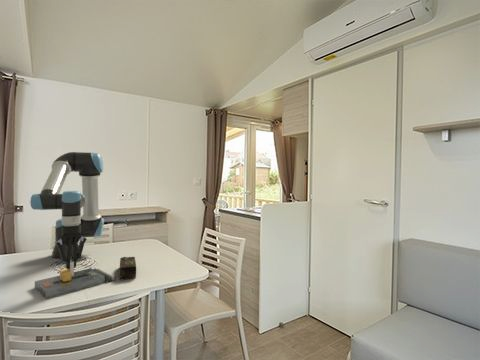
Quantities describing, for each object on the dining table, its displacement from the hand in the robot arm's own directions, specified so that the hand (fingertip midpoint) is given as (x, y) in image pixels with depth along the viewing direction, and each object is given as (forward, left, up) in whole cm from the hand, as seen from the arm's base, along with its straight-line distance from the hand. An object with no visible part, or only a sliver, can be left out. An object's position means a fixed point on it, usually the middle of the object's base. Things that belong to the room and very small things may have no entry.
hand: (71, 275), depth 130 cm
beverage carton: (+3, +26, -5) cm, 26 cm away
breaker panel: (0, 0, -5) cm, 5 cm away
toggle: (0, -2, -1) cm, 3 cm away
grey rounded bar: (0, +14, -5) cm, 15 cm away
